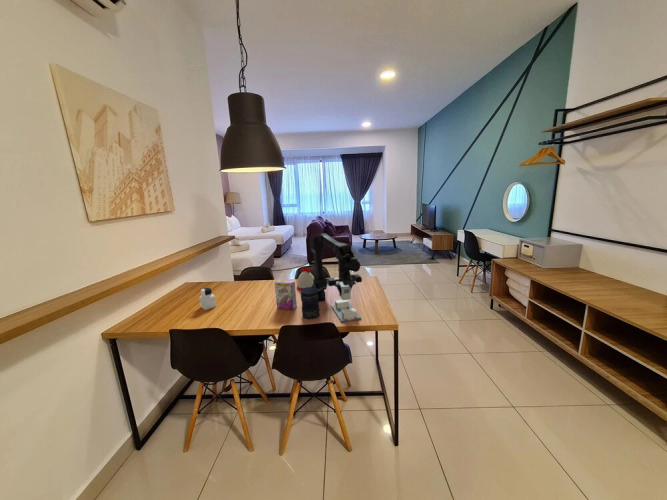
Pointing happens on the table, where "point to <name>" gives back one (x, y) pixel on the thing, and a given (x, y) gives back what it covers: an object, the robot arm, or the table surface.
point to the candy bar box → (285, 294)
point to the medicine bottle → (207, 299)
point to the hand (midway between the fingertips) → (344, 294)
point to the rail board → (339, 313)
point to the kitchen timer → (305, 279)
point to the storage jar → (310, 303)
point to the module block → (345, 292)
